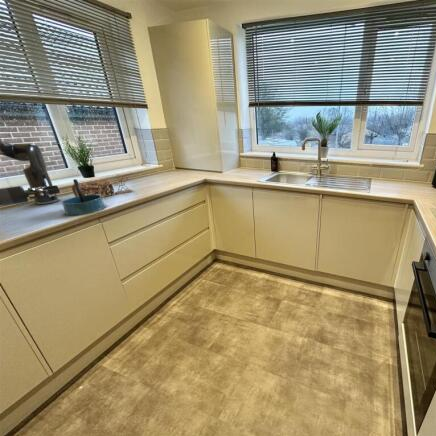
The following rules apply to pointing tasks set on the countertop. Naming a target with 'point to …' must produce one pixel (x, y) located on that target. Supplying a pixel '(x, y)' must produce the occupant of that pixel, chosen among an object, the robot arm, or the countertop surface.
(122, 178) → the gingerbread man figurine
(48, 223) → the countertop surface
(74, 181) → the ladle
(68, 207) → the bowl
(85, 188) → the bread
